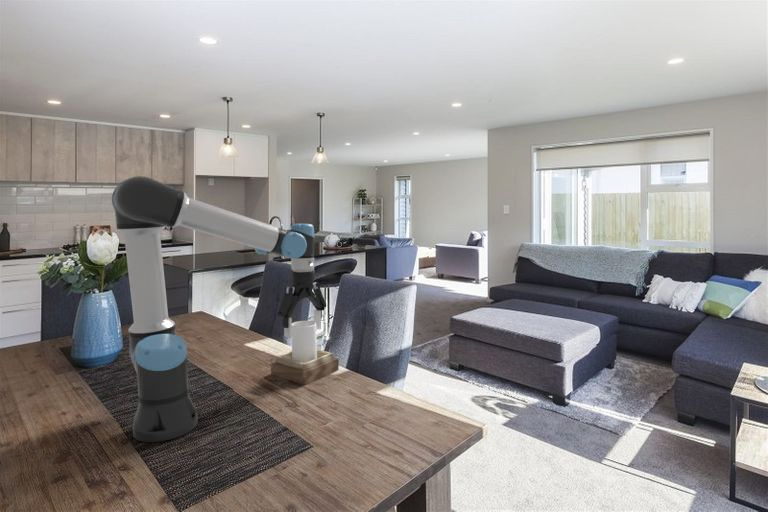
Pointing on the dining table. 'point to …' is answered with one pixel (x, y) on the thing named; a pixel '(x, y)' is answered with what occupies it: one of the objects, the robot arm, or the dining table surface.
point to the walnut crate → (301, 375)
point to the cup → (304, 341)
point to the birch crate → (287, 360)
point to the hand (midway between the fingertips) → (303, 332)
